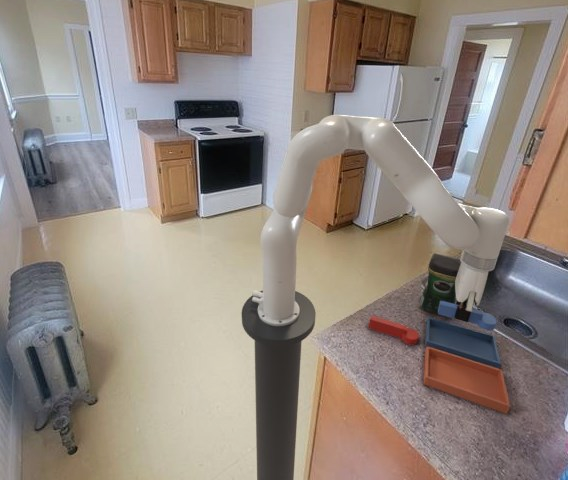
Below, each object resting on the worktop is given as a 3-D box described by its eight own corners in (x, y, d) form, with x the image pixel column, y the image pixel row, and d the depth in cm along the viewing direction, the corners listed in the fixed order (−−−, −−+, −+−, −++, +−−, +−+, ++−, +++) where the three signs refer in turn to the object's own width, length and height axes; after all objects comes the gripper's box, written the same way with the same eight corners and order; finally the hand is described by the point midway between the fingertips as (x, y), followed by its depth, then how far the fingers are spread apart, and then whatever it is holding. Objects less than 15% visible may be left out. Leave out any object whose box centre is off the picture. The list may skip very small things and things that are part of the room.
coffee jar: (452, 305, 103) (466, 256, 96) (452, 321, 97) (467, 269, 89) (420, 296, 107) (432, 248, 100) (418, 310, 101) (429, 260, 93)
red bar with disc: (367, 331, 92) (369, 322, 91) (370, 321, 96) (371, 312, 95) (417, 347, 87) (419, 337, 86) (417, 335, 91) (420, 326, 90)
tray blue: (425, 347, 87) (426, 341, 86) (426, 323, 96) (427, 316, 95) (498, 371, 81) (501, 363, 80) (492, 342, 90) (494, 335, 89)
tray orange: (423, 384, 77) (425, 377, 76) (424, 352, 86) (426, 345, 85) (506, 414, 71) (510, 406, 70) (499, 376, 79) (502, 369, 78)
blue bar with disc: (437, 317, 86) (440, 307, 84) (437, 307, 89) (440, 297, 88) (496, 332, 81) (499, 322, 79) (493, 321, 84) (496, 310, 83)
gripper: (459, 239, 86) (444, 295, 93) (463, 270, 73) (445, 332, 80) (491, 246, 83) (473, 302, 91) (501, 279, 70) (480, 342, 77)
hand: (460, 316), depth 85 cm, fingers closed on blue bar with disc
